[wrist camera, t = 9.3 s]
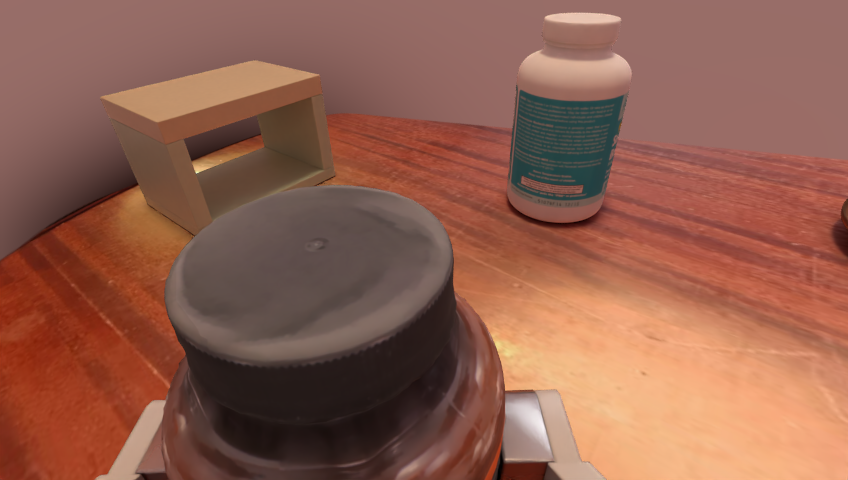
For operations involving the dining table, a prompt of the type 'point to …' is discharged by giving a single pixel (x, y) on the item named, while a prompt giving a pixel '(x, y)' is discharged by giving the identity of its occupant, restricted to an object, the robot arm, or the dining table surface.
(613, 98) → the pill bottle
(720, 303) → the dining table surface
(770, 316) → the dining table surface
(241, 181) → the shelf
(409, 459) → the supplement bottle
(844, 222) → the cup and saucer
